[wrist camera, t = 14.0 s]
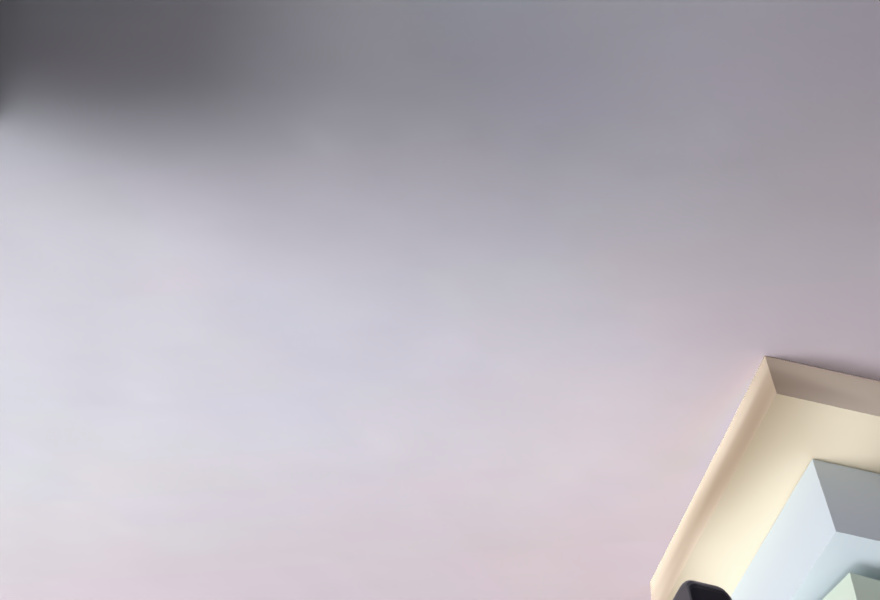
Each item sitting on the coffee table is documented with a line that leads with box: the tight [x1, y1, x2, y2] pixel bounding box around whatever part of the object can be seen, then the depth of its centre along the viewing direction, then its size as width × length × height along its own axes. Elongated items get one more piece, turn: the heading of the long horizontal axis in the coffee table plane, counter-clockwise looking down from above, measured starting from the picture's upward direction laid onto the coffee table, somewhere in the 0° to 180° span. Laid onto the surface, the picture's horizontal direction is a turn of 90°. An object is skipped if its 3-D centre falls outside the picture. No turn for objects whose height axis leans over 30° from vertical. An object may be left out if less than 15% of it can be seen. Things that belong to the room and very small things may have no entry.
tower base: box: [650, 356, 880, 600], centre depth 25 cm, size 10×10×2 cm
